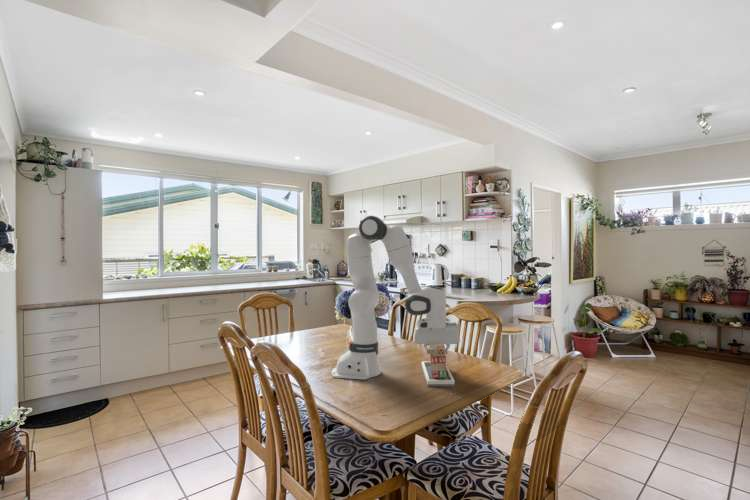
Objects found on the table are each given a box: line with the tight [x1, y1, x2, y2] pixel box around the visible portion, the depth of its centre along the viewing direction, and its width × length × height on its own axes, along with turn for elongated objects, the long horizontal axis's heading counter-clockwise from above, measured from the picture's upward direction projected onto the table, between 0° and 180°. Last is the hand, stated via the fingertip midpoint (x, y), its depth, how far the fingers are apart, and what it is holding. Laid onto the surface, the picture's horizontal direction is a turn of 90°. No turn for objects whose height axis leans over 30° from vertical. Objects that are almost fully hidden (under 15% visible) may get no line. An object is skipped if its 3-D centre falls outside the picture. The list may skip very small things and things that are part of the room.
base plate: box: [421, 360, 456, 388], centre depth 164 cm, size 11×26×2 cm, turn 178°
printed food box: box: [428, 343, 447, 378], centre depth 164 cm, size 21×6×12 cm, turn 173°
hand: (436, 353), depth 164 cm, fingers closed on printed food box, 6 cm apart
